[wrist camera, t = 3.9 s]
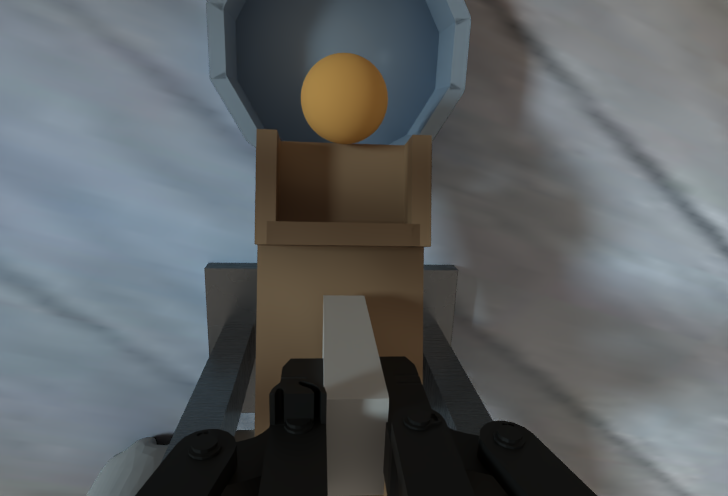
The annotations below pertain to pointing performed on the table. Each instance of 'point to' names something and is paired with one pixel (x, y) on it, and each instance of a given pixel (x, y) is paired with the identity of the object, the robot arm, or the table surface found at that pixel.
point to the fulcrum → (238, 354)
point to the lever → (337, 248)
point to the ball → (344, 98)
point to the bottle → (129, 469)
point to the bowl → (330, 36)
